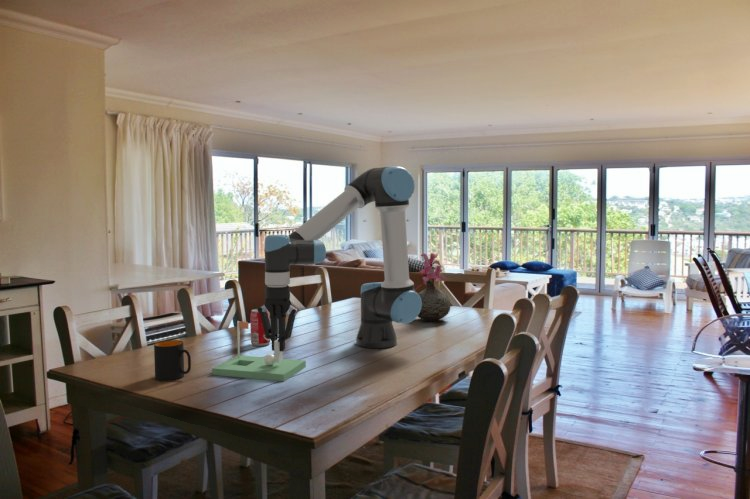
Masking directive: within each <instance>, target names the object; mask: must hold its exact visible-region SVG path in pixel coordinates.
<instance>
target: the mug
mask: <svg viewBox="0 0 750 499" xmlns="http://www.w3.org/2000/svg"><path fill="white" fill-rule="evenodd" d="M153 349H154V350H153V353H154V379H155V380H156V381H158V382H174V381H178V380H181V379H183V378H184V377H185V375H187V374H189V373H190V372H191V367H192V360H191V354H190V352H189V350H186V349H185V348H184V341H183V340H176V339H175V340H174V339H173V340H172V339H171V340H162V341H159V342H156V343H154V345H153ZM184 353H185V354H186V356H187V366H188V367H187V370H186V371H185V359H184V358H185V355H184Z"/></svg>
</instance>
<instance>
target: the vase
mask: <svg viewBox="0 0 750 499" xmlns="http://www.w3.org/2000/svg"><path fill="white" fill-rule="evenodd" d="M438 255H439V253H436V254H435V253H433V252H431V253H430V256H429V257H428V255H427V254H426V253H422V254H420V257H422V258H423V260H424V261H423V266H424V268H423V269H421V270H419V272H420V274H421V275H423V276H422V284H419V285H418V286H417V287H416V288H414V291H415V292H417V289H419V287H421V286H423V285H425V286H426V287H425V289H423V290H421V291H420V292H417V293H418V295H419V296H420V297H421V301H422V307H421V311H420V313H419V315H417V317H418V318H419V319H421V320H422V321H423V322H425V323H437V322H439V321H440V320H441V319H443V318H445V317H446V316H447V315H448V314H449V312H450V310H451V300H450V298H449V296H447V294H445V292H443V291H441V290H439V289H437V288H436V286H435V284H434V282H439V281H441V280H442V281H445V280H446V276H445V275H443V274H441V273H442V272H443V269H442V268H440V267H442V265H441V263H440V262H439V260H437V259H436V258H437V257H438ZM435 264H436V265H437V266H435V267H434V268H433V266H434V265H435ZM439 274H440V275H439ZM432 279H434V280H433V281H434V282H432ZM440 279H441V280H440Z"/></svg>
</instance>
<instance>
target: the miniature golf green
mask: <svg viewBox="0 0 750 499" xmlns="http://www.w3.org/2000/svg"><path fill="white" fill-rule="evenodd" d="M236 325H237V326H236V329H237V330H236V331H237V332H236V334H237V337H236V339H237V355H236V356H235V357H233V358H230V359H228V360H226V361H224V362H222V363H220V364H218V365H216V366H214V367H212V368H211V374H212V376H213V375H214V376H222V377H224V376H225V377H234V378H243V379H244V378H245V379H254V380H255V379H256V380H268V381H277V382H285V381H287V380H288V379H290V378H291V377H292V376H295V375H296V374H297V373H299V372H301V371H302V370H303V369H305V368H306V366H307V365H306V364H307V361H306V360H301V359H291V358H289V359H288V358H283V360H282V361H281V362H279V363H278V362H275V363H274V364H273V365H271V366H269V365H267V364H265V362H264V358H265V356H252V355H241V342H240V341H241V339H240V336H241V334H240V329H241V330H242V329H245V330H248V329H249V322H248V321H239V320H237V322H236Z"/></svg>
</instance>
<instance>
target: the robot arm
mask: <svg viewBox="0 0 750 499" xmlns="http://www.w3.org/2000/svg"><path fill="white" fill-rule="evenodd" d="M415 187H416V186H415V180H414V178H413V175H412V173H411V172H410V171H408V169H406V168H404V167H402V166H396V165H395V166H394V165H391V166H390V165H389V166H384V167H373V168H369V169H367V170H366V171H364V172H362V173H361V174H360V175H358V176H357V177H356V178H354V179H353V180H352V181H350V182H349V183H348V184H347V185H346V186H345V187H344V191H343V192H342V193H340V194H339V195H338V196H336V197H335V198H334V199H333V200H332V201H330V202H328V204H327V205H325V206H324V207H323V208H321V209H320V210H319V211H318V212H317V213H315V214H314V215H312V216H311V217H310V218H309V219H307V220H306V221H305V222H304V223H302V224H301V225H299V227H298V228H296V229H295V230H294V231H292V232H291V233H290V234H289V235H287V234H270V235H266V236H265V239H264V250H263V252H264V284H265V285H266V286H264V287H265V288H264V295H265V296H264V297H265V301H264V303H263V305H262V306H260V307H258V308H256V309H257V310H258V312H259V313H260V315H261V319H262V324H263V328H264V332H265V337H266V338H269V339H270V342H271V351H273V353H274V354H273V355H274V362H278V363H279V362H281V361H282V360H283V359H284V357H283V353H284V351H285V350H286V340H288V339H290V338H292V334H293V333H292V332H293V328H294V323H295V319H296V316H297V314H298V312H299V308H297V307H295V306H293V305H292V302H291V286H290V284H291V278H290V277H291V275H290V274H291V272H290V271H291V266H295V265H316V264H322V263H323V262H324V261H325V259H326V256H327V249H326V246H325V245H326V244H325V243H324V242H323V241H322V240H320V239H321V238H323V237H324V236H326V234H327V233H328V232H330V231H331V230H333V228H335V227H336V226H338V225H339V224H340V223H341V222H342V221H343V220H345V219H346V218H347V217H349V216H350V215H352V213H353V212H355V211H356V210H358V209H363V208H364V207H365V206H367V205H368V204H370V203H373V202H374V203H375V204H374V205H375V208H376V209H377V211H378V212H379V213H380V215H379V216H380V229H381V244H382V245H381V246H382V258H383V274H384V281H380V282H379V281H378V282H367V283H363V284H362V285H361V286H360V293H359V294H360V325H359V328H358V331H357V335H356V338H355V344H356V346H359V347H362V348H367V349H385V348H391V347H395V346H396V345H397V344H398V337H397V335H396V331H395V328H394V326H393V322H394V323H397V324H409V323H412V322H413V321H415V320H416V318H417V317H418V316H417V315H419V313H420V311H421V307H422V301H421V297H420V296H419V295H418V293H419V292H417V291H415V283H414V281H413V280H412V279H410V268H409V256H408V255H409V253H408V238H407V235H408V234H407V221H406V209H407V208H408V207H409V206H410V201H409V200H410V199H411V198H412V196H413V194H414V192H415ZM267 310H268V311H269V313H270V319H271V326H270V322H269V317H268V313H267ZM287 311H288V312H289V313H290V314H289V317H288V318H287V321H286V317H287V314H286V313H287ZM285 325H287V326H286V328H285ZM278 330H279V333H278Z"/></svg>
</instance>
